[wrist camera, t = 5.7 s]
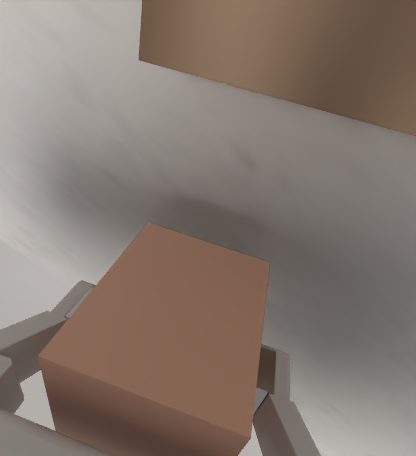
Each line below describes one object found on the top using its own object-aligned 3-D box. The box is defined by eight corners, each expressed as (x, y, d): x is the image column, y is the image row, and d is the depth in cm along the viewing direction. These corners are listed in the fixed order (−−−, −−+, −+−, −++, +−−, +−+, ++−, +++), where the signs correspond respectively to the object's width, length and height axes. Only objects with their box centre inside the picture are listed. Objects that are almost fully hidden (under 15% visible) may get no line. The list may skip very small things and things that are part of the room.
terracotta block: (270, 262, 11) (250, 438, 6) (235, 338, 14) (203, 500, 9) (148, 222, 11) (38, 355, 6) (139, 303, 14) (57, 439, 9)
